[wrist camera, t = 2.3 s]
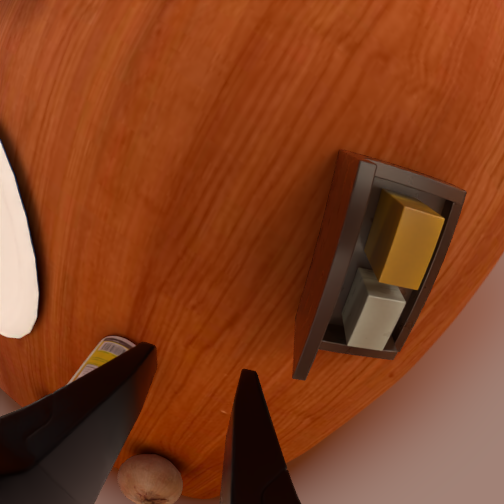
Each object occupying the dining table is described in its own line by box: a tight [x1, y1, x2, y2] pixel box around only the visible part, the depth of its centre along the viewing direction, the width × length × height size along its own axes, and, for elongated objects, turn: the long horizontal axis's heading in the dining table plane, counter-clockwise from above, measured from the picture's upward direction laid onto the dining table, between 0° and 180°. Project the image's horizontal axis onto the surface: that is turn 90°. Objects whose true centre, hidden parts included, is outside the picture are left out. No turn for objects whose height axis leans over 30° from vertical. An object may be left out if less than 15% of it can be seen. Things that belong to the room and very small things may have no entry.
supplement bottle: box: [68, 336, 136, 384], centre depth 21 cm, size 6×6×10 cm
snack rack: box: [292, 149, 466, 380], centre depth 16 cm, size 8×12×6 cm, turn 170°
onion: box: [118, 454, 183, 504], centre depth 31 cm, size 10×9×10 cm
